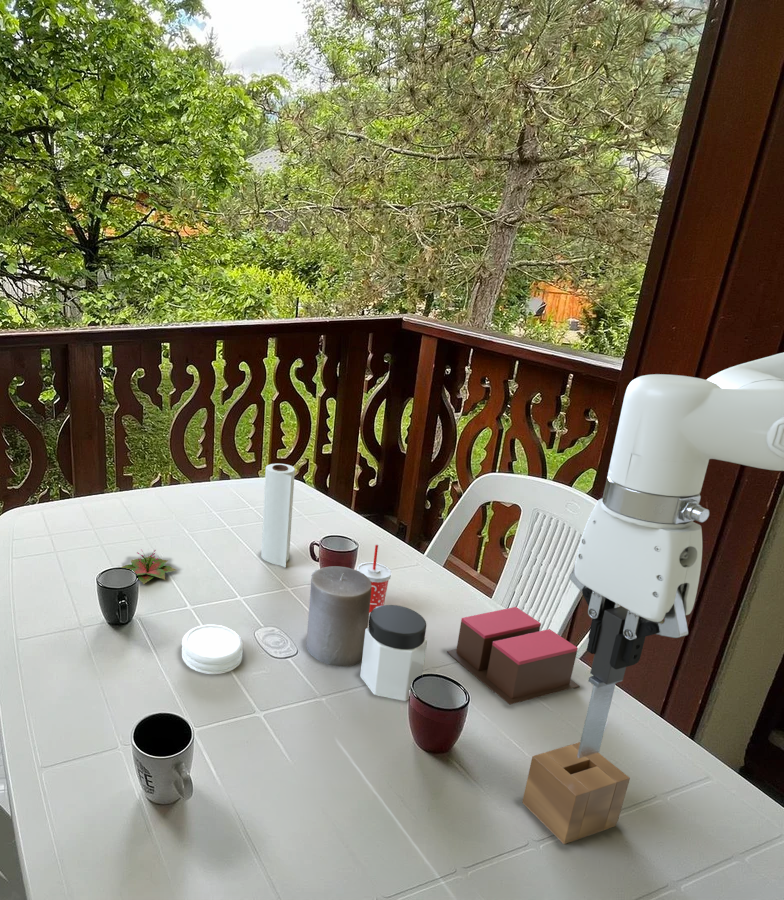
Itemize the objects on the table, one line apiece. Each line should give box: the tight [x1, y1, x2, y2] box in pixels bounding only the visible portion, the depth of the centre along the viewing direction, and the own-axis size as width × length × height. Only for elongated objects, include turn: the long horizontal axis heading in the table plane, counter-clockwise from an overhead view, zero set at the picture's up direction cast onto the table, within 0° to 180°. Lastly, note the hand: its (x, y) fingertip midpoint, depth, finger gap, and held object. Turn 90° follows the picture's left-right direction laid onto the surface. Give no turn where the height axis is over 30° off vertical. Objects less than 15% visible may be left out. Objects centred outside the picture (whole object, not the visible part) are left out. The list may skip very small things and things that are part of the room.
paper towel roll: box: [260, 463, 296, 568], centre depth 134 cm, size 7×6×21 cm
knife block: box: [522, 741, 631, 845], centre depth 75 cm, size 8×6×8 cm
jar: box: [359, 604, 428, 702], centre depth 97 cm, size 9×8×12 cm
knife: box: [577, 606, 628, 758], centre depth 70 cm, size 4×2×19 cm, turn 108°
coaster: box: [181, 624, 244, 675], centre depth 104 cm, size 10×10×4 cm
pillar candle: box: [306, 565, 372, 667], centre depth 105 cm, size 10×10×15 cm
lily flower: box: [120, 548, 177, 585], centre depth 132 cm, size 12×12×5 cm
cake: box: [446, 606, 581, 705], centre depth 101 cm, size 14×14×8 cm
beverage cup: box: [356, 544, 392, 617], centre depth 116 cm, size 6×6×14 cm
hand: (611, 656), depth 69 cm, fingers closed on knife, 2 cm apart
